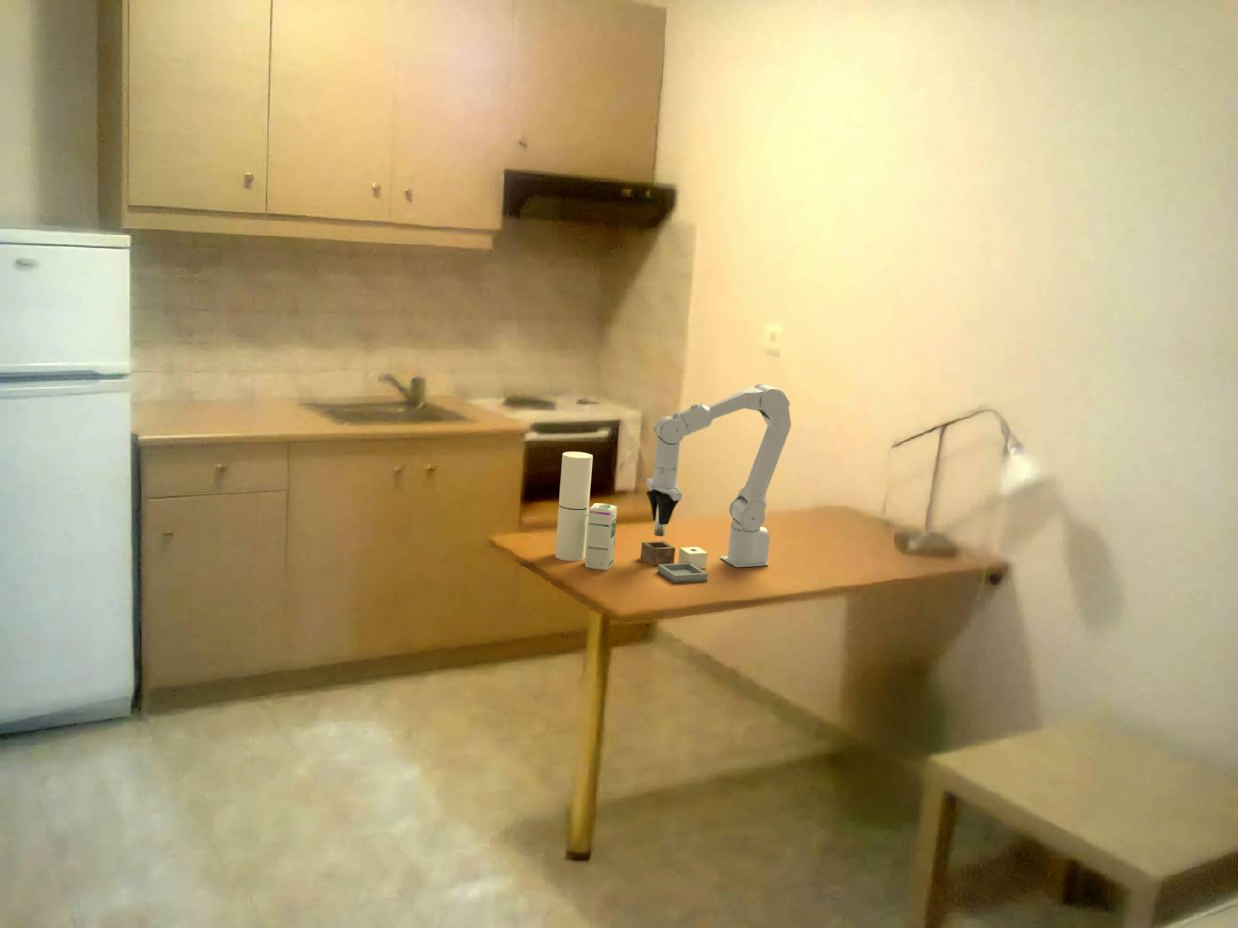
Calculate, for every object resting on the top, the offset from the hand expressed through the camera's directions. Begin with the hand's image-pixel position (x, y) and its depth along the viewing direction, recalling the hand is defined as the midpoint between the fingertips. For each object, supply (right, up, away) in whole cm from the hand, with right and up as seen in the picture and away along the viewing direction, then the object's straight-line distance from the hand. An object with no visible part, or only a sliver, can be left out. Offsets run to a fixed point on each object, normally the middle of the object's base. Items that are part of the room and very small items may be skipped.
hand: (660, 522), depth 258 cm
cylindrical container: (-22, -8, -1) cm, 23 cm away
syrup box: (-15, -10, -6) cm, 19 cm away
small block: (+8, -11, +1) cm, 13 cm away
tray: (+5, -12, -9) cm, 16 cm away
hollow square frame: (-1, -9, +2) cm, 10 cm away
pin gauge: (0, -3, +1) cm, 3 cm away
